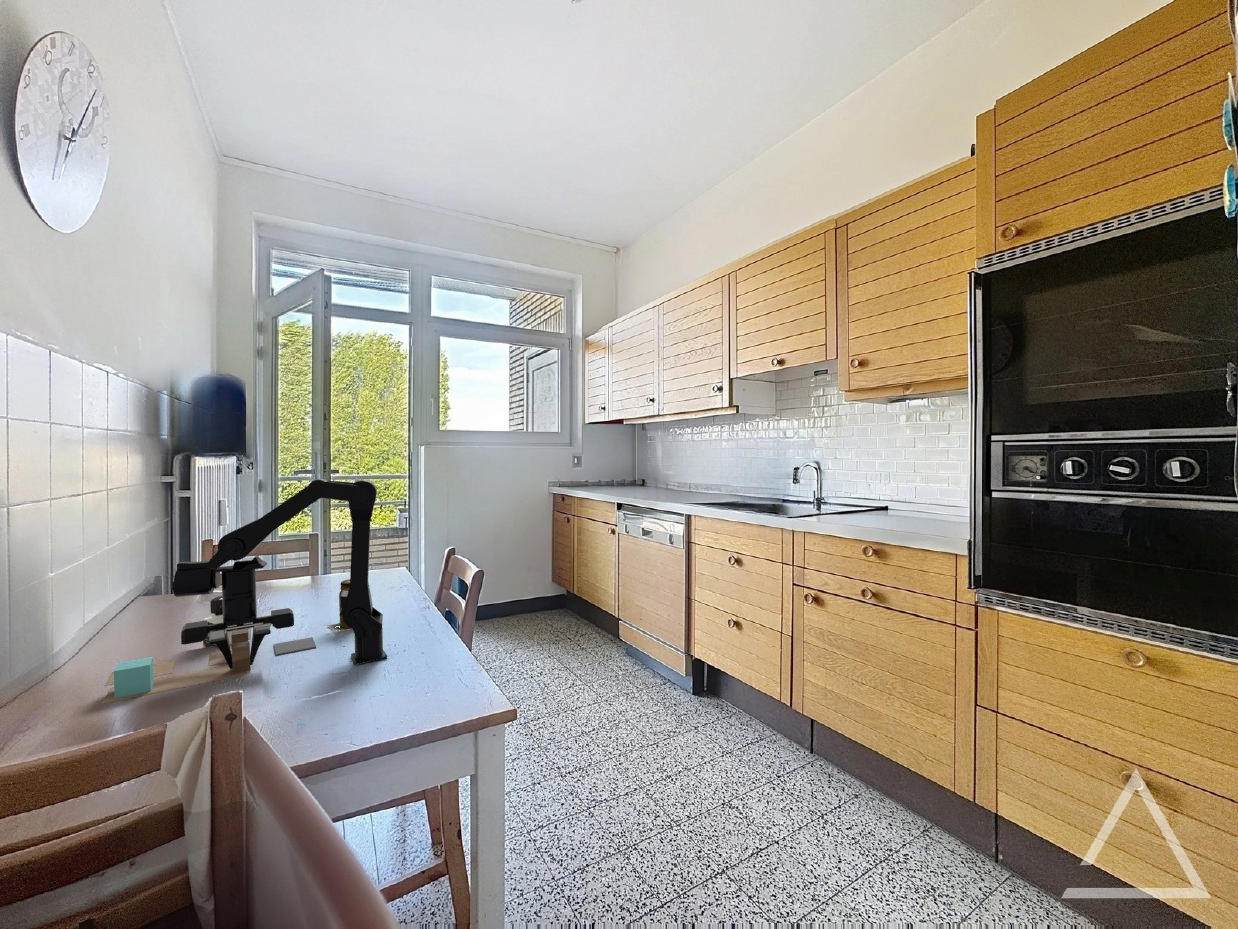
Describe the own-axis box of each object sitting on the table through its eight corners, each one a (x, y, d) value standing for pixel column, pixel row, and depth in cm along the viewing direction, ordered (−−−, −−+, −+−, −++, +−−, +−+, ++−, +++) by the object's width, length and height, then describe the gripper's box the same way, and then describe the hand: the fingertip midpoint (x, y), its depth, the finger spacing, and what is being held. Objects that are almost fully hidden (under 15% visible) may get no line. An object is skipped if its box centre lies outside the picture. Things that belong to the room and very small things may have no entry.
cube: (150, 691, 102) (149, 664, 102) (114, 698, 99) (113, 671, 99) (154, 682, 106) (153, 656, 106) (119, 688, 103) (118, 662, 103)
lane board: (219, 690, 105) (218, 682, 105) (67, 722, 93) (67, 714, 93) (221, 656, 123) (221, 650, 122) (93, 680, 110) (93, 673, 110)
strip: (250, 679, 110) (249, 649, 109) (101, 710, 97) (100, 676, 97) (250, 666, 116) (249, 637, 116) (110, 694, 103) (109, 662, 103)
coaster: (316, 649, 127) (316, 646, 127) (275, 657, 122) (275, 654, 122) (312, 639, 133) (312, 637, 133) (273, 646, 129) (273, 644, 129)
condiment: (370, 625, 144) (369, 580, 143) (335, 633, 138) (334, 586, 137) (360, 619, 149) (359, 576, 149) (327, 626, 143) (326, 581, 143)
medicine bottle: (202, 649, 128) (200, 598, 127) (235, 639, 134) (234, 591, 134) (218, 654, 124) (217, 602, 124) (252, 644, 131) (250, 594, 130)
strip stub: (249, 663, 118) (248, 635, 117) (208, 671, 114) (207, 642, 113) (248, 652, 124) (247, 625, 124) (210, 659, 120) (209, 632, 120)
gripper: (289, 577, 123) (291, 645, 124) (184, 590, 113) (186, 664, 113) (293, 587, 114) (295, 660, 115) (179, 602, 104) (182, 683, 104)
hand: (241, 666), depth 112 cm, fingers closed on strip, 3 cm apart
